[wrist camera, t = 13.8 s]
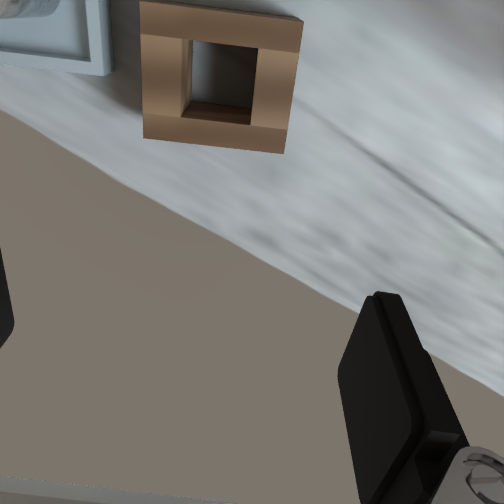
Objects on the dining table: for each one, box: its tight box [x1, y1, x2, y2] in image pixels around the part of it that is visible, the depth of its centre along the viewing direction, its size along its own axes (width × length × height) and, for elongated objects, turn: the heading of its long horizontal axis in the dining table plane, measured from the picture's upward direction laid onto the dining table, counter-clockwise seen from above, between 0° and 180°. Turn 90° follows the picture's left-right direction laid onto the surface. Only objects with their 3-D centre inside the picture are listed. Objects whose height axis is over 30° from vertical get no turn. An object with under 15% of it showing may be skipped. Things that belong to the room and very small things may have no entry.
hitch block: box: [139, 0, 304, 154], centre depth 35 cm, size 10×12×6 cm
